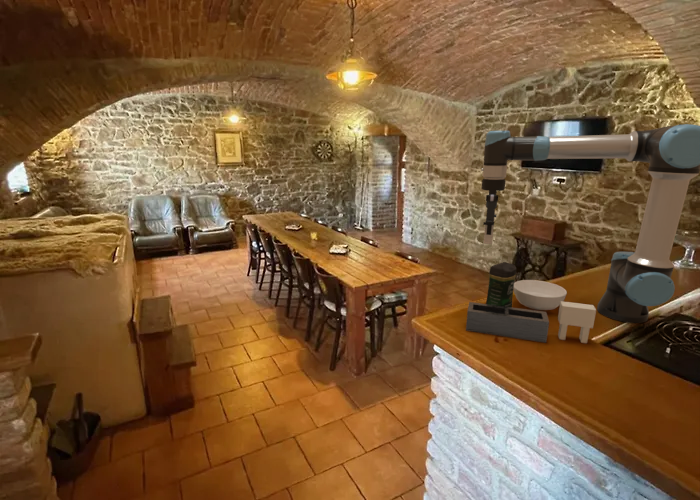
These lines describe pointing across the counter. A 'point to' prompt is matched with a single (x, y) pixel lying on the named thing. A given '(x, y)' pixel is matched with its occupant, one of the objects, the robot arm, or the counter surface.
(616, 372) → the counter surface
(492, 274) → the coffee jar
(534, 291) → the bowl
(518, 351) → the counter surface
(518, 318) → the grey rectangular trough
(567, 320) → the tall white notched block
